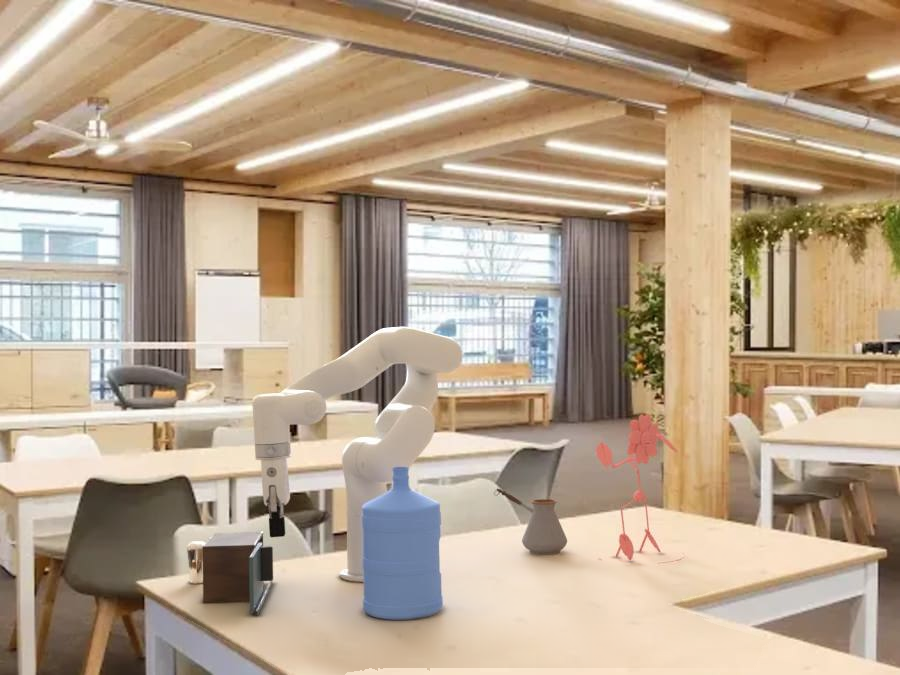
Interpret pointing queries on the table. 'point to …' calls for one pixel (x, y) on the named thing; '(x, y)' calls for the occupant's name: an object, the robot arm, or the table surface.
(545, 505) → the coffee pot
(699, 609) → the table surface
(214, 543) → the cabinet
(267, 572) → the glass door
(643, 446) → the figurine
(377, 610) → the water jug
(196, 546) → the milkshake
